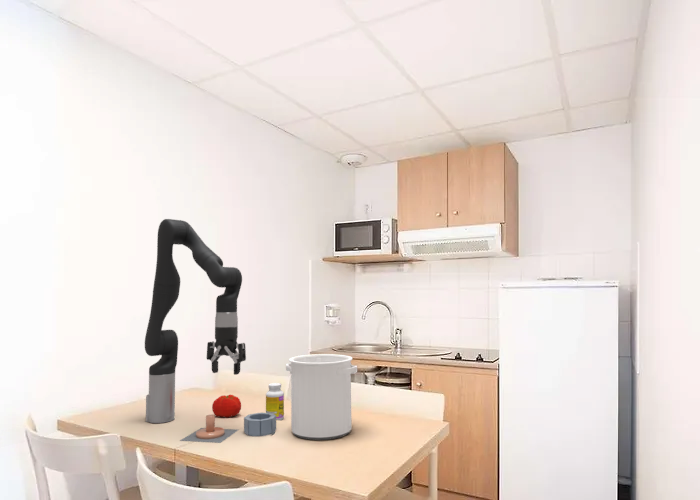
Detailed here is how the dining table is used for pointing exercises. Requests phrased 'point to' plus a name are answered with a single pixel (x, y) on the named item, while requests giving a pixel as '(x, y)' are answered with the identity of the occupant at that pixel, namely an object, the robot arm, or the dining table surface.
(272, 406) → the supplement bottle
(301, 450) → the dining table surface
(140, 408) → the dining table surface
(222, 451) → the dining table surface
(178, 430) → the dining table surface
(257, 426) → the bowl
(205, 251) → the robot arm
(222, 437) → the mat
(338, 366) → the bucket
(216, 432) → the lid
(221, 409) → the tomato
